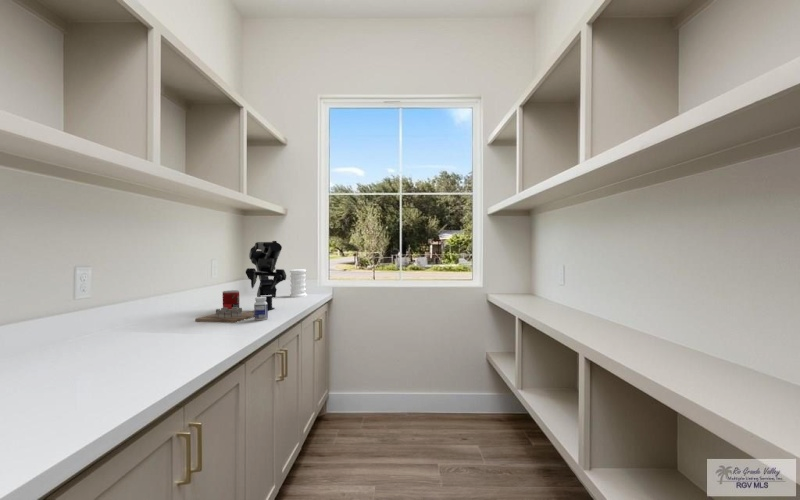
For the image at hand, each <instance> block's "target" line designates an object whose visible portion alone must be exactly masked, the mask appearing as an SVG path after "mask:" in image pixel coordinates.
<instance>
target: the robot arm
mask: <svg viewBox="0 0 800 500" xmlns="http://www.w3.org/2000/svg"><path fill="white" fill-rule="evenodd" d="M254 243H255V244H254V246H252V247H251V248H250V250H249V254H248V257H249V260H250V261H251V264H253V265H255V268H251V267H249V268H246V269H245V275H246V277H247V278H248V280H250V284H251V285H250V286H251V289H254V287H255V285H256V282H257V279H259V285H258V288H257V292H256V297H266V302H267V304H268V311H271V310H274V309H275V310H276V308H275V307H273V299H274V298H276V296H277V287H276V286H277V285H278V284H279V283H281V282H283V281H286V279H287V273H286V271H285V269H284V268H283V269H282V268H281V269H280V268H276V265H277V261H278V259H279V257H280V254H281V251H282V248H283V246H282V244H280V243H279V242H277V240H272V241H257V242H254ZM270 277H273V279H272V278H271V279H270Z"/></svg>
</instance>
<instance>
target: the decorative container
mask: <svg viewBox="0 0 800 500" xmlns="http://www.w3.org/2000/svg"><path fill="white" fill-rule="evenodd" d="M306 272H307V269H289V273H290V294H289V297H290V298H305V297H308V293H307V292H306V291H307V289H306V286H307V284H306V280H307V279H306V277H307V275H306Z"/></svg>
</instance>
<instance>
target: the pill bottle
mask: <svg viewBox="0 0 800 500" xmlns="http://www.w3.org/2000/svg"><path fill="white" fill-rule="evenodd" d="M254 301H255V302H254V304H253V306H254V307H253V308H254V309H253V310H254V311H253V313H254V315H255V317H254V320H255V321H265V320H268V318H269V312H268V311H269V310H268V304H267V302H266V297H257V296H256V297H255V298H254Z"/></svg>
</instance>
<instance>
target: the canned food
mask: <svg viewBox="0 0 800 500" xmlns="http://www.w3.org/2000/svg"><path fill="white" fill-rule="evenodd" d="M232 307H239V308H240V290H237V289H236V290H233V289H232V290H231V289H230V290H223V291H222V308H228V309H232Z"/></svg>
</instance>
